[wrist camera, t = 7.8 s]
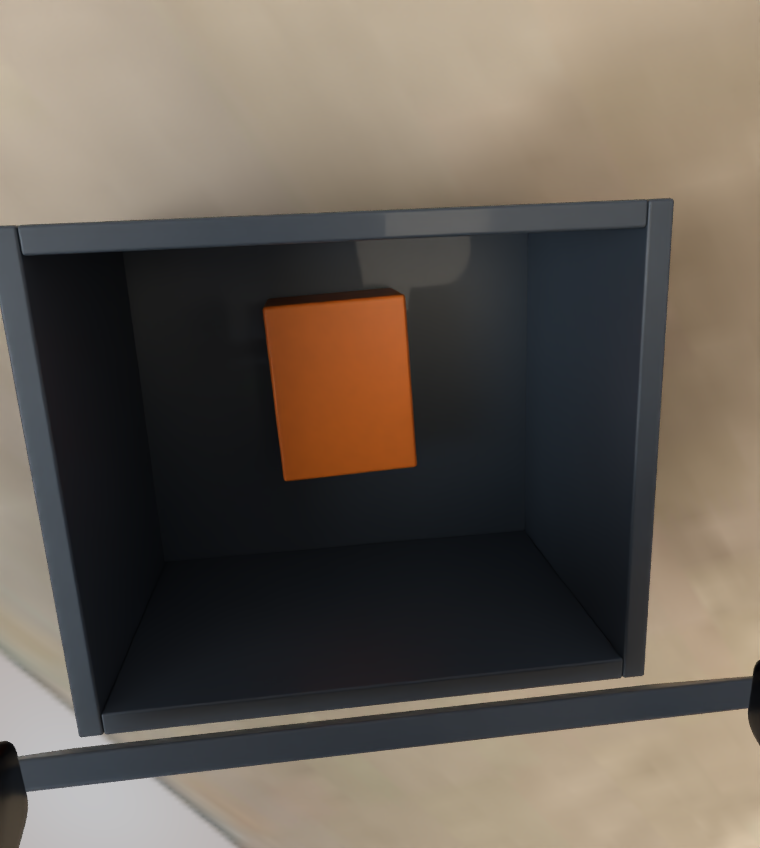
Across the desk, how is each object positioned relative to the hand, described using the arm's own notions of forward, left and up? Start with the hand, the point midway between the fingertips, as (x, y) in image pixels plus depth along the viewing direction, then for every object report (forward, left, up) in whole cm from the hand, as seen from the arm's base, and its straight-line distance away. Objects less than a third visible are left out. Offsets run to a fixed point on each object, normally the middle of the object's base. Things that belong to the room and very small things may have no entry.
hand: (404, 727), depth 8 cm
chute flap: (-2, 0, -3) cm, 4 cm away
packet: (+2, 0, -10) cm, 10 cm away
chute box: (+1, 0, -13) cm, 13 cm away
